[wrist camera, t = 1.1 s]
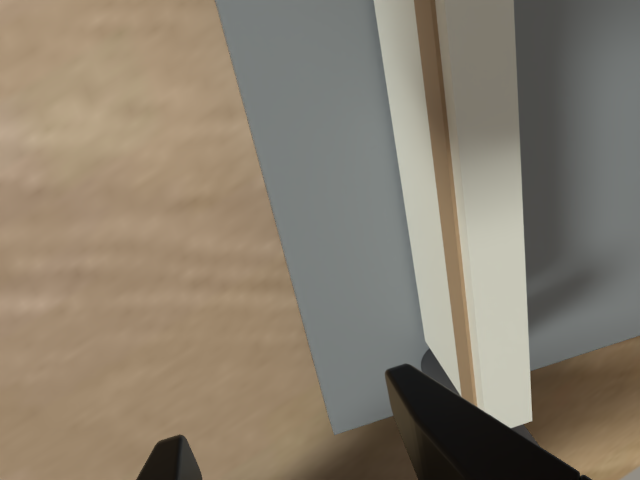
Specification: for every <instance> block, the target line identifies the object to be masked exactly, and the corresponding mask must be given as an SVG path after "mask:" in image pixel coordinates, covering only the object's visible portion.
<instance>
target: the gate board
mask: <svg viewBox="0 0 640 480" xmlns="http://www.w3.org/2000/svg"><path fill="white" fill-rule="evenodd" d="M215 2H216V6H217V10H218V13H219V17H220V21H221V24H222V28H223V32H224V35H225V39H226V43H227V46H228V50H229V54H230V57H231V61H232V65H233V68H234V72H235V76H236V79H237V83H238V87H239V90H240V94H241V98H242V101H243V105H244V109H245V112H246V116H247V120H248V123H249V127H250V131H251V134H252V138H253V142H254V145H255V149H256V153H257V156H258V160H259V164H260V167H261V171H262V175H263V178H264V182H265V186H266V189H267V193H268V197H269V200H270V204H271V208H272V211H273V215H274V219H275V222H276V226H277V230H278V233H279V237H280V241H281V244H282V248H283V252H284V255H285V259H286V263H287V266H288V270H289V274H290V278H291V281H292V285H293V289H294V292H295V296H296V300H297V303H298V307H299V311H300V314H301V318H302V322H303V325H304V329H305V333H306V336H307V340H308V344H309V347H310V351H311V355H312V358H313V362H314V366H315V369H316V373H317V377H318V380H319V384H320V388H321V391H322V395H323V399H324V402H325V406H326V410H327V413H328V417H329V420H330V423H331V426H332V429H333V432H334V435H336V434H339V433H342V432H345V431H348V430H351V429H354V428H357V427H360V426H364V425H367V424H370V423H373V422H376V421H379V420H382V419H385V418H388V417H391V416H393V413H392V409H391V405H390V400H389V395H388V390H387V385H386V380H385V371H386V370H387V369H389V368H392V367H395V366H398V365H402V364H405V363H407V364H410V365H412V366H414V367H415V368H417V369H418V370H420V371H422V372H423V373H425V374H426V375H428V376H429V377H431V378H433V379H434V380H436V381H437V382H439V383H440V384H442V385H444V386H445V387H447V388H448V389H450V390H451V391H453V392H455V393H456V394H458V395H459V396H460V394H459V392H458V391H457V389H456V388H455V386H454V385H453V383H452V382H451V380H450V379H449V377H448V375H447V374H446V372H445V371H444V369H443V368H442V366H441V365H440V363H439V362H438V360H437V358H436V357H435V355H434V354H433V352H432V351H431V349H430V348H429V346H428V345H427V343H426V341H425V336H424V330H423V323H422V317H421V310H420V303H419V297H418V290H417V284H416V277H415V270H414V264H413V257H412V250H411V244H410V237H409V231H408V224H407V217H406V211H405V204H404V198H403V191H402V184H401V178H400V171H399V165H398V158H397V151H396V145H395V138H394V131H393V125H392V118H391V112H390V105H389V98H388V92H387V85H386V79H385V72H384V65H383V59H382V52H381V46H380V39H379V32H378V26H377V19H376V13H375V6H374V0H215ZM514 21H515V43H516V66H517V88H518V111H519V133H520V156H521V178H522V201H523V224H524V246H525V269H526V291H527V314H528V336H529V359H530V371H532V370H535V369H538V368H541V367H544V366H548V365H551V364H554V363H557V362H560V361H563V360H566V359H569V358H572V357H575V356H578V355H581V354H584V353H587V352H591V351H594V350H597V349H600V348H603V347H606V346H609V345H612V344H615V343H618V342H621V341H624V340H627V339H630V338H633V337H637V336H640V0H514ZM511 429H513V430H514V431H516V432H518V433H519V434H521V435H522V436H524V437H525V438H527V439H529V440H530V441H532V442H533V443H535V444H536V445H538V443H537V442H536V441H535V439H534V438H533V437H532V435H531V434H530V433H529V431H528V430H527V429H526V427H525V426H524V425H523V424H522V425H519V426H516V427H513V428H511ZM538 446H539V445H538Z"/></svg>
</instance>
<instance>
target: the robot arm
mask: <svg viewBox="0 0 640 480" xmlns="http://www.w3.org/2000/svg"><path fill="white" fill-rule="evenodd" d="M385 380H386V385H387V390H388V395H389V400H390V405H391V409H392V413H393V416H394V419H395V422H396V424H397V427H398V429H399V432H400V434H401V437H402V439H403V442H404V444H405V447H406V449H407V452H408V454H409V457H410V460H411V462H412V465H413V467H414V470H415V472H416V475H417V477H418V480H592V479H590V478H589V477H587V476H585V475H581V476H580V473H579V471H577V470H576V469H574V468H573V467H571V466H569V465H568V464H566V463H565V462H563V461H562V460H560V459H558V458H557V457H555V456H554V455H552V454H551V453H549V452H547V451H546V450H544V449H543V448H541V447H540V446H538V445H536V444H535V443H533V442H532V441H530V440H529V439H527V438H525V437H524V436H522V435H521V434H519V433H518V432H516V431H514V430H513V429H511V428H510V427H508V426H506V425H505V424H503V423H502V422H500V421H499V420H497V419H495V418H494V417H492V416H491V415H489V414H488V413H486V412H484V411H483V410H481V409H480V408H478V407H477V406H475V405H473V404H472V403H470V402H469V401H467V400H466V399H464V398H462V397H461V396H459V395H458V394H456V393H455V392H453V391H451V390H450V389H448V388H447V387H445V386H444V385H442V384H440V383H439V382H437V381H436V380H434V379H433V378H431V377H429V376H428V375H426V374H425V373H423V372H422V371H420V370H418V369H417V368H415V367H414V366H412V365H410V364H407V363H405V364H402V365H398V366H395V367H392V368H389V369H387V370H386V371H385ZM136 480H202V475H201V472H200V469H199V466H198V464H197V462H196V459H195V457H194V455H193V453H192V450H191V448H190V446H189V444H188V441H187V439H186V438H185V437H184V436H183V435H177V436H173V437H170V438H167V439H164V440H161V441H159V442H158V443H157V444H156V445H155V447H154V449H153V450H152V452H151V454H150V456H149V458H148V459H147V461H146V463H145V465H144V467H143V468H142V470H141V472H140V474H139V476H138V477H137V479H136Z"/></svg>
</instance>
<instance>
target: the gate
mask: <svg viewBox="0 0 640 480" xmlns="http://www.w3.org/2000/svg"><path fill="white" fill-rule="evenodd" d="M374 6H375V13H376V19H377V26H378V32H379V39H380V46H381V52H382V59H383V65H384V72H385V79H386V85H387V92H388V98H389V105H390V112H391V118H392V125H393V131H394V138H395V145H396V151H397V158H398V165H399V171H400V178H401V184H402V191H403V198H404V204H405V211H406V217H407V224H408V231H409V237H410V244H411V250H412V257H413V264H414V270H415V277H416V284H417V290H418V297H419V303H420V310H421V317H422V323H423V330H424V336H425V341H426V343H427V345H428V346H429V348H430V349H431V351H432V352H433V354H434V355H435V357H436V358H437V360H438V362H439V363H440V365H441V366H442V368H443V369H444V371H445V372H446V374H447V375H448V377H449V379H450V380H451V382H452V383H453V385H454V386H455V388H456V389H457V391H458V392H459V394H460V396H461V397H462V398H464V399H466V400H467V401H469V402H470V403H472V404H473V405H475V406H477V407H478V408H480V409H481V410H483V411H484V412H486V413H488V414H489V415H491V416H492V417H494V418H495V419H497V420H499V421H500V422H502V423H503V424H505V425H506V426H508V427H510V428H513V427H516V426H519V425H522V424H525V423H528V422H531V421H532V404H531V381H530V359H529V336H528V314H527V291H526V269H525V246H524V224H523V201H522V178H521V156H520V133H519V111H518V88H517V66H516V43H515V21H514V0H374Z"/></svg>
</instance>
